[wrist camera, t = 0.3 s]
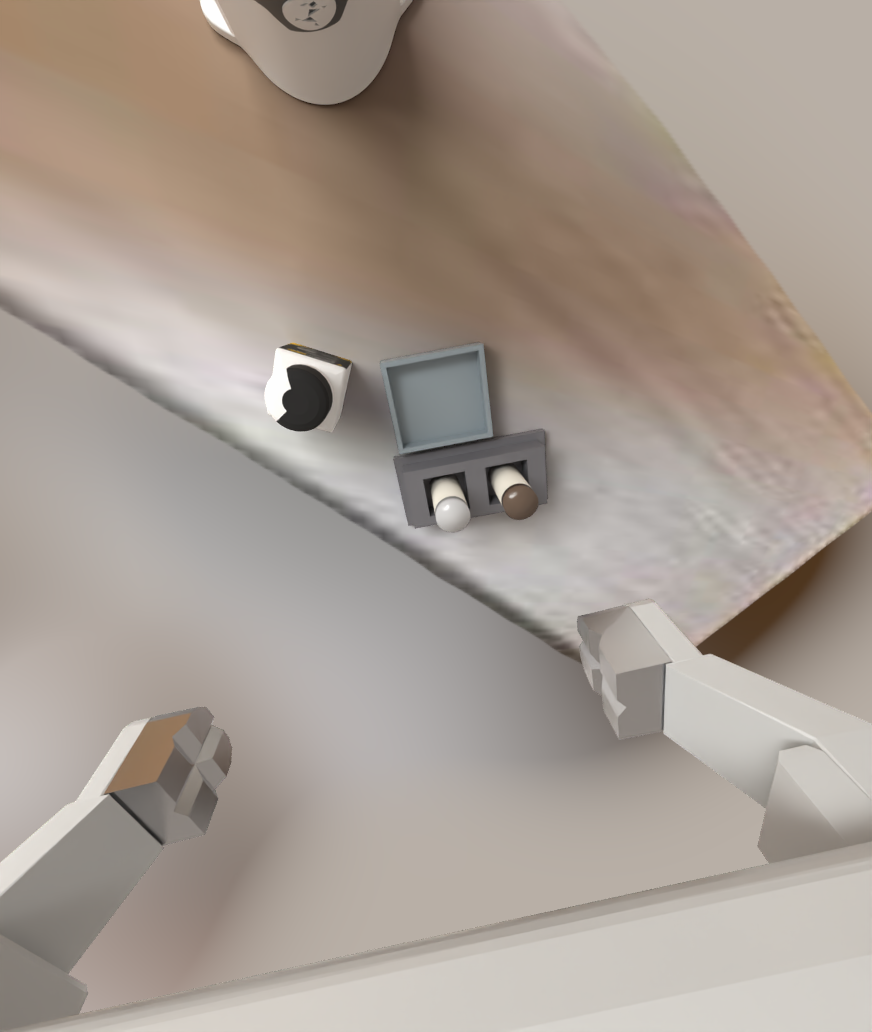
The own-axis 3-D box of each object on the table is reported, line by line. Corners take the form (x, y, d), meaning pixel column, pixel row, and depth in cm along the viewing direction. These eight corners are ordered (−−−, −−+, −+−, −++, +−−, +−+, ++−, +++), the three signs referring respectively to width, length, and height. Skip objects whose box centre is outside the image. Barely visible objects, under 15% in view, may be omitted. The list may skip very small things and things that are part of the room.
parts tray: (380, 360, 50) (379, 363, 47) (479, 341, 50) (483, 343, 47) (399, 448, 55) (399, 454, 52) (489, 431, 55) (493, 436, 52)
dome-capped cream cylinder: (427, 474, 56) (433, 505, 47) (457, 469, 56) (468, 498, 47) (432, 501, 57) (439, 535, 49) (461, 496, 57) (472, 529, 49)
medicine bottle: (352, 360, 49) (340, 375, 39) (340, 418, 52) (326, 447, 42) (291, 341, 48) (261, 351, 37) (282, 402, 51) (251, 427, 40)
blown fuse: (486, 463, 56) (502, 491, 47) (516, 458, 56) (537, 485, 47) (489, 490, 57) (505, 522, 49) (518, 485, 57) (539, 516, 49)
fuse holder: (408, 522, 60) (409, 536, 56) (393, 456, 55) (393, 467, 52) (545, 496, 60) (554, 508, 56) (541, 428, 55) (552, 437, 52)
